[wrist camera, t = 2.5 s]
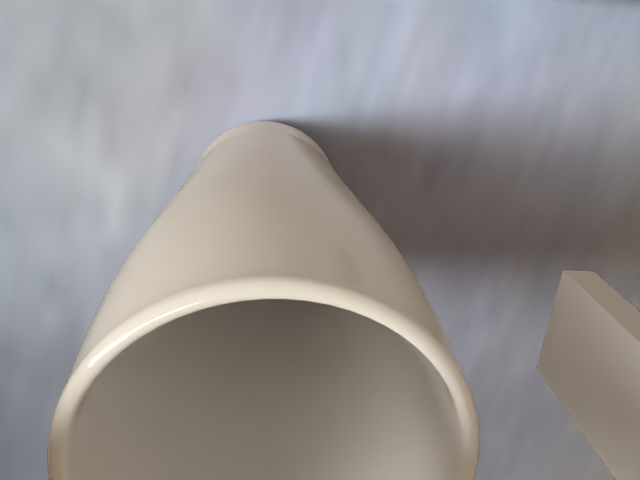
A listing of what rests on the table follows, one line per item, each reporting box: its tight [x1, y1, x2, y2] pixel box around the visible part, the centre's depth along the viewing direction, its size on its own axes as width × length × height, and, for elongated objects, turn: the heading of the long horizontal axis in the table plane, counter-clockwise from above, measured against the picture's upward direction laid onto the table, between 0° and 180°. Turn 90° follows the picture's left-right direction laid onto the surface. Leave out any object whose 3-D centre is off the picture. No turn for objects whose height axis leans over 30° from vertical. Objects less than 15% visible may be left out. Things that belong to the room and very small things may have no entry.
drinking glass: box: [47, 121, 479, 480], centre depth 16 cm, size 7×7×15 cm
